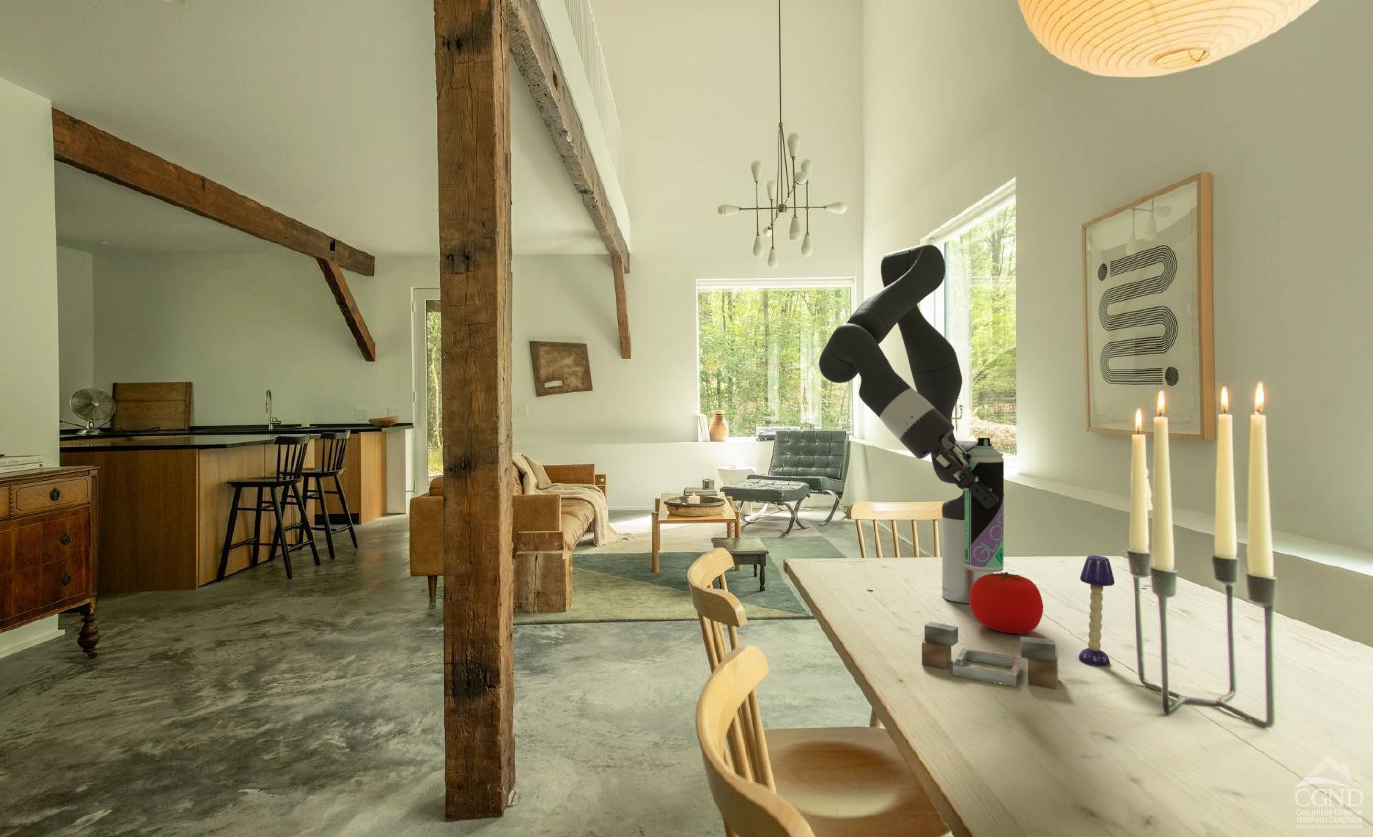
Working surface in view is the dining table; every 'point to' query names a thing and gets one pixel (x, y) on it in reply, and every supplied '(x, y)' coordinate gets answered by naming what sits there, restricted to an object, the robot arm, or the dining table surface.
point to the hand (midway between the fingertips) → (996, 502)
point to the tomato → (1006, 602)
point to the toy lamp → (1096, 606)
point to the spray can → (985, 511)
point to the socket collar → (988, 674)
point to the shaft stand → (1034, 649)
